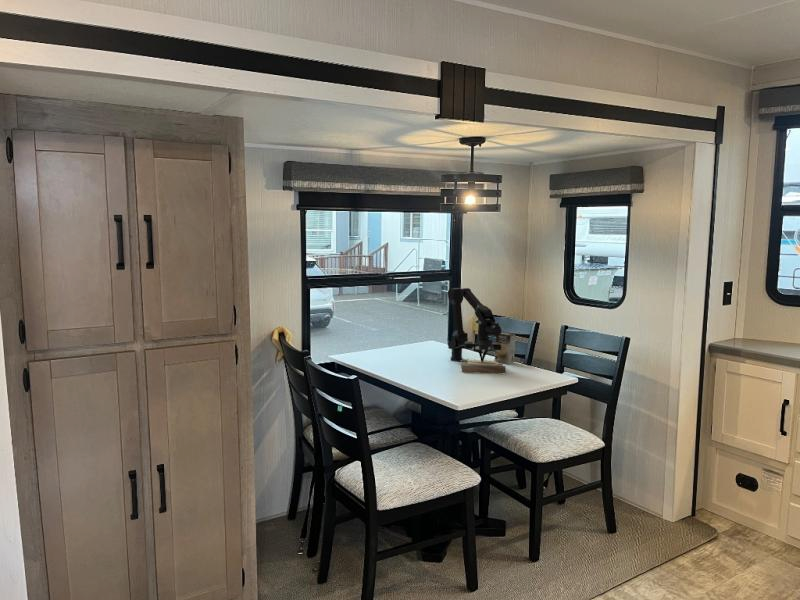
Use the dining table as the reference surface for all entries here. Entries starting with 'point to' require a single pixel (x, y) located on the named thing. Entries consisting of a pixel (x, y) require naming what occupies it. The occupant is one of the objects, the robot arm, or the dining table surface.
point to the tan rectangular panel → (478, 362)
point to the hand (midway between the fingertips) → (482, 361)
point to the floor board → (482, 368)
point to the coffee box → (505, 348)
